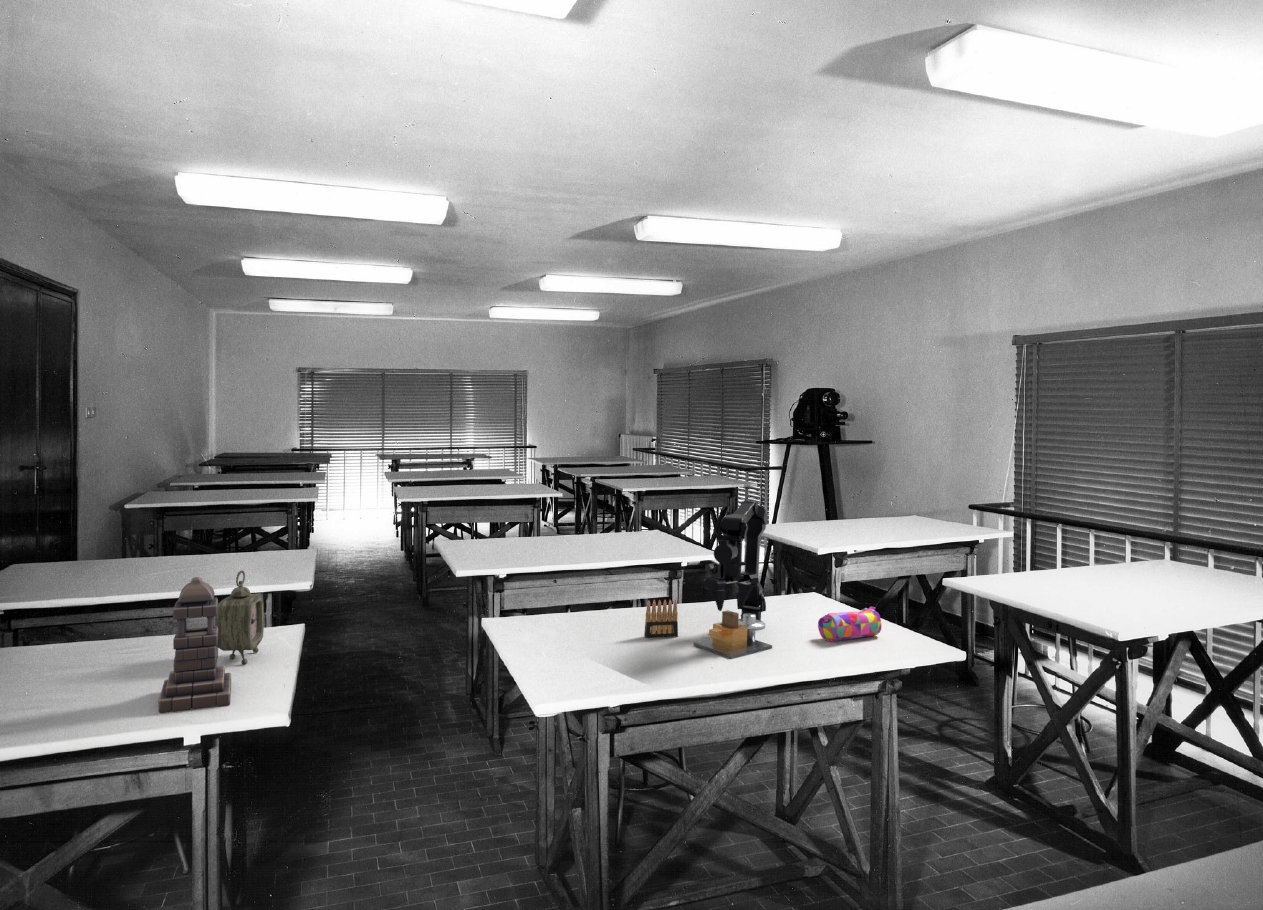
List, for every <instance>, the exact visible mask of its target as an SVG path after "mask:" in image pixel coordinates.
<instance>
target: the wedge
mask: <svg viewBox="0 0 1263 910" xmlns="http://www.w3.org/2000/svg"><path fill="white" fill-rule="evenodd" d="M721 612H722V613H721V614H722V616H721V622H722V625H723V626H726V627H729V628H732V629H733V628H738V621H739V619H740V618H739V617H740V616H739V613H738V612H737V611H736V612H735V611H731V610H728V609H727V610H722V611H721Z"/></svg>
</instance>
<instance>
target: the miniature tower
mask: <svg viewBox="0 0 1263 910" xmlns="http://www.w3.org/2000/svg"><path fill="white" fill-rule="evenodd" d="M214 590H215V589H214V588H213V587H212V585H210V584H209V583H207V582H205V581H203V578H201V577H200V576H193V577H191V580H190V582H189V583H186V584H185V586H183V588H182V589H181V590H180V593H179V597H178V599H177V601H176V602H175V604H174V607H173V608H172V619H173V620H174V621H175V620H176V631H175V635H174V638H173V644H172V645H173V648H172V649H173V650H174V658H173V670H172V671H170V672H169V674H168V678H167V679H165V680H164V681H163V684H162V688H161V691H160V695H159V698H158V713H160V714H164V713H165V714H166V713H177V712H183V711H184V712H185V711H186V712H187V711H191V710H200V709H208V708H215V707H217V708H219V707H228V706H230V705H231V694H232V692H231V691H232V673H231V672H226V666H225V665H217V664H218V659H219V648H217V643H218V627H217V626H215V616H217V611H218V603H219V602H218V601H219V600H218V597H215V591H214ZM202 617H203V618H206V620H207V621H206V622H207V623H206V624H207V626H202V627H201V626H200V627H191V628H189V627H188V628H187V619H199V618H202Z"/></svg>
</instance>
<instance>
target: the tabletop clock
mask: <svg viewBox="0 0 1263 910" xmlns="http://www.w3.org/2000/svg"><path fill="white" fill-rule="evenodd" d="M241 574H242V575H243V577H242V580H239V577H240V576H241ZM235 580H236V581H235V583H236V586H237V587H235V588H234V589H233V588H232V591H231V593H230V595H229V596H227V597H225V598H223V599H221V600H220V601H219V602H218V611H217V616H214V626H217V627H218V643H217V648H218V650H221V651H223V652H229V651H232V653H231V654H230V655H229V656H228V657H229V660H234V659H236V654H235V653H236V651H238V652H239V654H240V656H241V658H242V659H241V664H242V665H243V666H245V665H247V664H248V659H247V658H246V657H245V652H244V651H252V652H253V653H255V654H257V653H258V652H259V647H258V646H259V645H260V643H261V642H262V641H263V638H264V628H265V625H264V623H265V621H264V620H265V607H264V606H265V604H264V595H263V594H262V593H251V591H250V589H249V588H248V587H246V586H243V585H244V583H245V581H246V573H245V571H244V570H240V571H238V573H237V575H236V579H235Z"/></svg>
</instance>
